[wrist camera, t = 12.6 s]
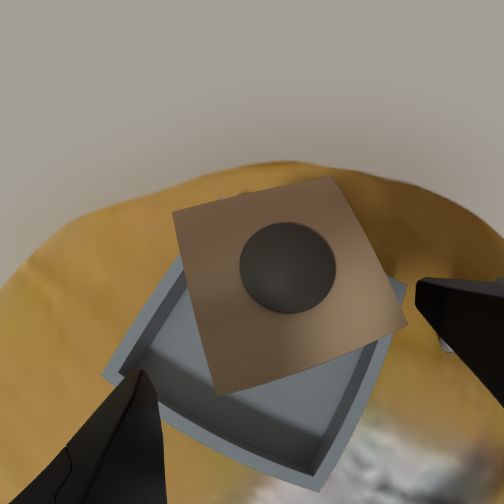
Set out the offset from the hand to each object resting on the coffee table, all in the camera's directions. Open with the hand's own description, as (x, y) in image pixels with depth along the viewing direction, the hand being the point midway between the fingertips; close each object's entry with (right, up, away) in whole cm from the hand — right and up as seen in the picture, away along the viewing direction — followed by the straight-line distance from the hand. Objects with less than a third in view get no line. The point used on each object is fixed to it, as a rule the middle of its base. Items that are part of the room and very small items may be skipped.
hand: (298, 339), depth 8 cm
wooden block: (-1, -3, +9) cm, 9 cm away
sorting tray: (-1, -3, +10) cm, 10 cm away
